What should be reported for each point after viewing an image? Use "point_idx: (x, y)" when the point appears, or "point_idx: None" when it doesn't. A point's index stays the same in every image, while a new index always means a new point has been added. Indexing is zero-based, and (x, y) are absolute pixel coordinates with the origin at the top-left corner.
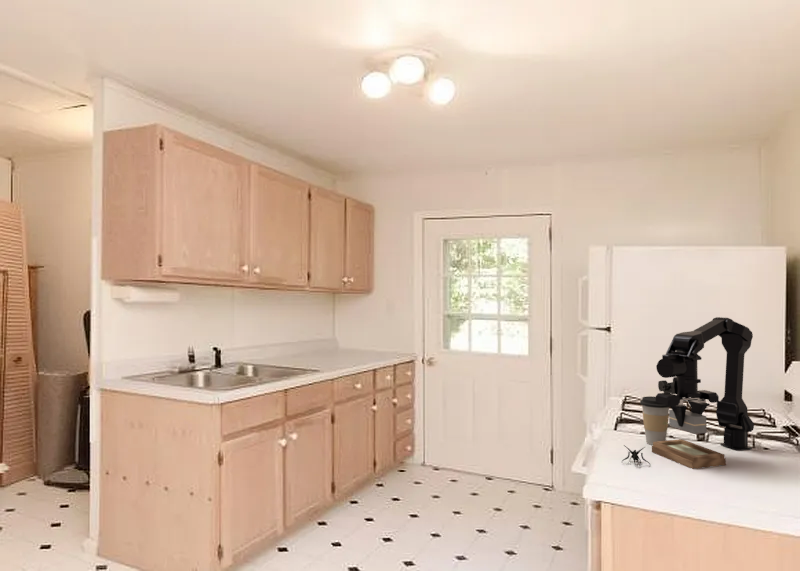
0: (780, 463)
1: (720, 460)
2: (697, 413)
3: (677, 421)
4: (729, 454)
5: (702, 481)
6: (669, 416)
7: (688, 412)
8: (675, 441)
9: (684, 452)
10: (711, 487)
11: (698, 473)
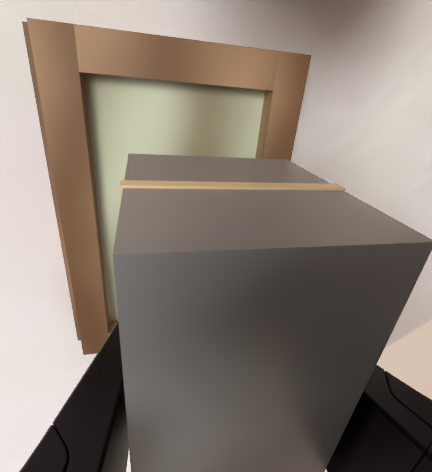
0: (407, 313)
1: None
2: (335, 466)
3: (99, 353)
4: (384, 209)
5: (26, 410)
6: (123, 196)
7: (285, 442)
8: (225, 85)
9: (97, 289)
10: (21, 443)
11: (71, 355)
